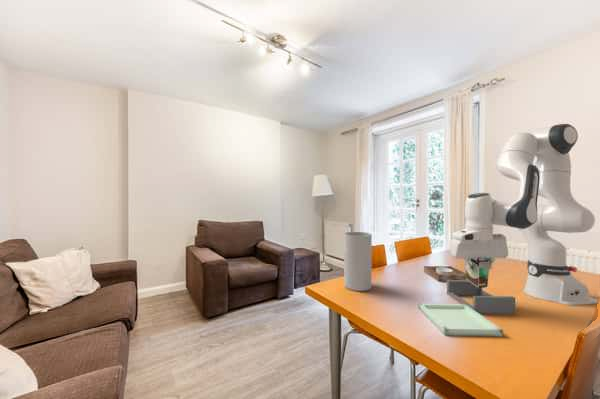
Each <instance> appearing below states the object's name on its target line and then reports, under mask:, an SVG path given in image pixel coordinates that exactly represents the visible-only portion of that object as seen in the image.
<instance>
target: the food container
mask: <svg viewBox="0 0 600 399" xmlns="http://www.w3.org/2000/svg"><path fill="white" fill-rule="evenodd" d="M469 262H470V264H472V265H474V267H473V268H474V269H471V270H469V269H467V264H466V263H465V262H464V270H465V271H464V272H465V273H466V279H467V280H468V281H470V282H471V283H472V284H474V285H475V286H477V287H478V288H482V289H484V288H487V287H488V285H489V284H488V283H489V272H490V271H489V270H490V269H489V267H491V263H490V261H489V259H487V258H471V261H469Z"/></svg>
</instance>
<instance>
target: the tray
mask: <svg viewBox="0 0 600 399" xmlns="http://www.w3.org/2000/svg"><path fill="white" fill-rule="evenodd" d="M417 307H418V310H419V311H420V312H421V313H422V314H423V315H424V316H425V317H426V318H427V319H428V320H429V321H430V322H431V323H432V325H434V326H435V327H436V328H437V329H438V331H440V332H441V333H442V334H443V335H444V336H453V337H454V336H457V337H458V336H459V337H462V336H464V337H466V336H467V337H503V336H504V330H503V329H502V328H501V327H499V326H498V325H497V324H495V323H494V322H492V321H491V320H489V319H488V318H486V317H485V316H483V314H479V313H477V312H476V311H474V310H473V309H472V308H470V307H469V306H467V305H466V304H460V303H422V302H421V303H418V305H417Z"/></svg>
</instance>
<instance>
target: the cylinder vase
mask: <svg viewBox="0 0 600 399" xmlns="http://www.w3.org/2000/svg"><path fill="white" fill-rule="evenodd" d="M343 235H344V236H343V239H344V240H343V242H344V246H343V249H344V250H343V251H344V254H343V255H344V256H343V262H344V263H343V264H344V266H343V268H344V270H343V271H344V273H343V274H344V278H343V285H344V287H345V288H346V289H348V290H351V291H354V292H366V291H369V290H371V289H372V287H373V286H372V282H373V280H372V278H373V277H372V276H373V275H372V274H373V273H372V270H373V268H372V267H373V266H372V265H373V264H372V263H373V262H372V256H373V255H372V250H373V248H372V245H373V243H372V242H373V240H372V239H373V238H372V236H373V234H372V233H369V232H364V231H347V232H344V234H343Z"/></svg>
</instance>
